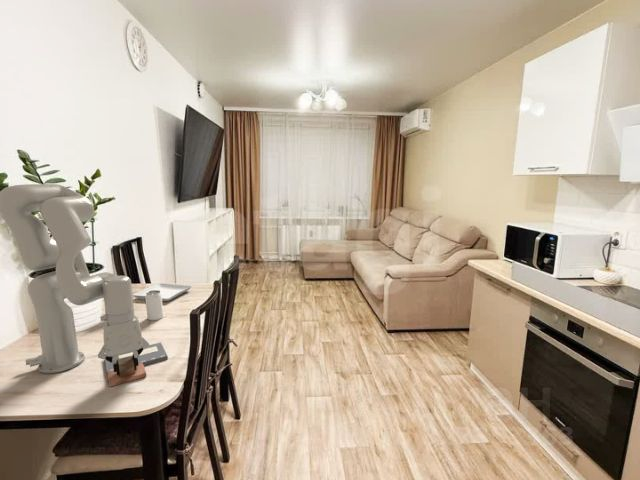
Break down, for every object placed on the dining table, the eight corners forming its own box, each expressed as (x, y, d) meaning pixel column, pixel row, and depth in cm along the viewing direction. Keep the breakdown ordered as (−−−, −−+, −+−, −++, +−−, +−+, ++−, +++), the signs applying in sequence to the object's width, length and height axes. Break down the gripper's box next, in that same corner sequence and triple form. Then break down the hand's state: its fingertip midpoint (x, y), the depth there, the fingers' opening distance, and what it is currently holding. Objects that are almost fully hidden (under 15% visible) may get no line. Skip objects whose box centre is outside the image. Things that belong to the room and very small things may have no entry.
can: (144, 319, 153) (141, 293, 151) (156, 314, 159) (153, 289, 157) (155, 321, 151) (152, 295, 149) (166, 316, 157) (164, 290, 154)
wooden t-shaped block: (109, 386, 104) (107, 371, 103) (107, 375, 110) (106, 360, 109) (146, 376, 109) (144, 361, 108) (142, 365, 115) (141, 351, 114)
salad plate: (192, 291, 192) (192, 285, 191) (168, 304, 172) (167, 298, 171) (159, 288, 197) (159, 282, 196) (131, 301, 176) (131, 294, 176)
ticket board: (107, 375, 110) (106, 371, 110) (104, 359, 120) (104, 356, 119) (167, 358, 120) (167, 355, 120) (161, 345, 130) (160, 342, 129)
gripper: (88, 327, 98) (95, 385, 102) (152, 314, 108) (157, 367, 111) (87, 318, 104) (94, 373, 108) (148, 306, 114) (153, 358, 117)
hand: (126, 370), depth 109 cm, fingers closed on wooden t-shaped block, 4 cm apart
